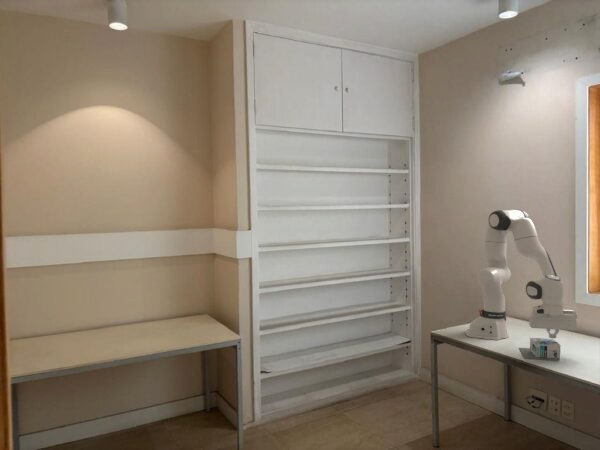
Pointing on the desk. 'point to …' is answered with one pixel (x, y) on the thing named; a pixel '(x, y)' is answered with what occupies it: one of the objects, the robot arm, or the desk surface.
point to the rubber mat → (532, 355)
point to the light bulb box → (545, 348)
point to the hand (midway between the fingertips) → (552, 337)
